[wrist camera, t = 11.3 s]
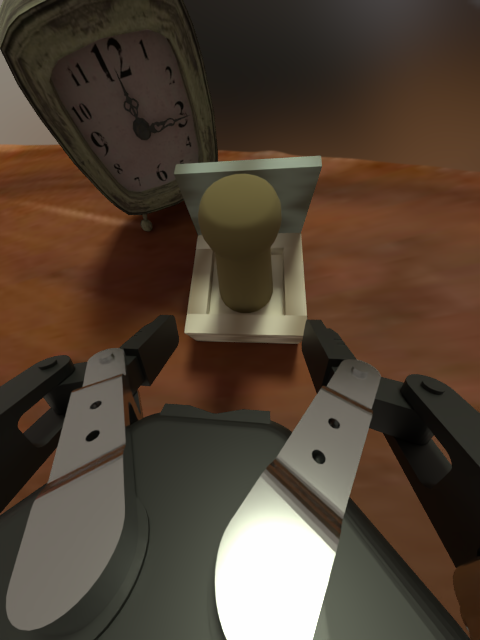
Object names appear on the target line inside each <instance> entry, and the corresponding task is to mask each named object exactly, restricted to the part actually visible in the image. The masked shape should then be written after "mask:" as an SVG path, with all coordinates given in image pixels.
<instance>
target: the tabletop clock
mask: <svg viewBox="0 0 480 640" xmlns="http://www.w3.org/2000/svg"><path fill="white" fill-rule="evenodd" d="M0 49H1V51H2V54H3V56H4V58H5V60H6V62H7V64H8V66H9V68H10V70H11V72H12V74H13V76H14V78H15V80H16V82H17V84H18V85H19V87H20V89H21V90H22V92H23V94H24V95H25V97H26V98H27V100H28V101H29V103H30V104H31V106H32V107H33V109H34V110H35V112H36V113H37V115H38V116H39V118H40V119H41V120H42V122H43V123H44V125H45V126H46V127H47V128H48V130H49V131H50V133H51V134H52V135H53V136H54V138H55V139H56V140H57V142H58V143H59V144H60V146H61V147H62V148H63V150H64V151H65V152H66V154H67V155H68V156H69V158H70V159H71V160H72V161H73V163H74V164H75V165H76V166H77V167H78V168H79V170H80V171H81V172H82V173H83V174H84V175H85V176H86V177H87V178H88V179H89V180H90V181H91V182H92V183H93V185H94V186H95V187H96V188H97V189H98V190H99V191H100V192H101V193H102V194H103V195H104V196H105V197H106V198H107V199H108V200H109V201H110V202H111V203H113V204H114V205H115V206H116V207H117V208H119V209H120V210H122V211H123V212H125V213H126V214H128V215H143V218H144V219H143V220H142V221H141V227H142V229H143V230H145V231H151V230H152V223H151V222H150V221H149V220H148V218H147V214H148V213H152V212H155V211H158V210H161V209H164V208H167V207H170V206H173V205H176V204H178V203H180V202H182V201H184V199H183V196H182V194H181V191H180V188H179V186H178V183H177V181H176V178H175V176H174V171H175V167H176V164H190V163H207V162H218V149H217V139H216V131H215V130H216V129H215V120H214V111H213V106H212V101H211V97H210V91H209V86H208V82H207V77H206V72H205V67H204V63H203V58H202V55H201V51H200V47H199V44H198V40H197V37H196V33H195V30H194V27H193V24H192V21H191V19H190V16H189V14H188V11H187V9H186V6H185V4H184V2H183V0H3V3H2V5H1V8H0Z"/></svg>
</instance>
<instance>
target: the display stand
mask: <svg viewBox="0 0 480 640" xmlns="http://www.w3.org/2000/svg"><path fill="white" fill-rule="evenodd" d="M321 168H322V163H321V156H309V157H292V158H275V159H258V160H241V161H224V162H207V163H190V164H176V167H175V171H174V176H175V178H176V181H177V183H178V186H179V188H180V191H181V194H182V196H183V199H184V201H185V204H186V206H187V209H188V211H189V214H190V216H191V219H192V221H193V224H194V226H195V229H196V231H197V234H198V239H197V246H196V253H195V260H194V267H193V275H192V282H191V289H190V296H189V303H188V310H187V318H186V325H185V332H184V333H186V334H187V335H189V336H190V337H192V338H193V339H195V340H196V341H217V342H252V343H288V344H298V343H300V342H301V341H302V339H303V334H304V328H305V323H306V320H307V311H306V297H305V283H304V270H303V256H302V242H301V231H302V227H303V224H304V221H305V218H306V215H307V212H308V209H309V205H310V202H311V199H312V196H313V193H314V190H315V187H316V183H317V180H318V177H319V174H320V171H321ZM233 174H250V175H255V176H258V177H260V178H262V179H264V180H266V181H267V182H268V183H269V184H270V185H271V186H273V188H274V190H275V192H276V194H277V196H278V198H279V200H280V203H281V216H282V221H281V226H280V229H279V232H278V235H277V238H276V239H275V241H274V243H273V244H272V246H271V262H272V278H273V293H272V296H271V299H270V301H269V302H268V303H267V304H266V306H264V307H263V308H261V309H260V310H258V311H255V312H252V313H239V312H236V311H233V310H232V309H230V308H229V307H227V306H226V305H225V303H224V302H223V300H222V299H221V295H220V291H219V283H218V274H217V266H216V257H215V253H214V252H213V250H212V249H211V248H210V247H209V245H208V244H207V243H206V241H205V240H204V238H203V236H202V233H201V230H200V226H199V222H198V212H199V205H200V202H201V198H202V196H203V195H204V193H205V191H206V189H207V188H209V187H210V186H211V185H212V184H213V183H214V182H216V181H217V180H219V179H221V178H223V177H226V176H230V175H233Z"/></svg>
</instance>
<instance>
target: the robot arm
mask: <svg viewBox="0 0 480 640" xmlns="http://www.w3.org/2000/svg"><path fill="white" fill-rule="evenodd" d="M178 343H179V336H178V331H177V326H176V321H175V317H174V316H173V315H160V316H158V317H157V318H156V319H155V320H154V321H153V322H152V323H150V324H148V325H146V326H144V327H143V328H141V329H140V330H139V331H138V332H137V333H136V334H135V335H134V336H132V337H131V338H130V339H129V340H128V341H126V342H125V343H124V344H123V345H122V346H121V347H120V348H111V349H107V350H103V351H101V352H99V353H97V354H95V355H93V356H92V357H91V358H90V359H89V360H88V362H84V363H77V364H73V363H72V361H71V359H70V357H69V356H66V355H60V356H54V357H51V358H47V359H45V360H42V361H40V362H38V363H36V364H35V365H33V366H31V367H30V368H28V369H27V370H25V371H24V372H22V373H21V374H19V375H18V376H16V377H15V378H13V379H11V380H10V381H8V382H7V383H5V384H4V385H2V386H1V387H0V513H1V512H2V511H3V509H4V508H5V507H6V506H7V505H8V504H9V502H10V501H11V500H12V499H13V498H14V497H15V495H16V494H17V493H18V492H19V491H20V490H21V488H22V487H23V486H24V485H25V484H26V483H27V481H28V480H29V479H30V478H31V477H32V476H33V474H34V473H35V472H36V471H37V470H38V469H39V467H40V466H41V465H42V464H43V463H44V462H45V461H46V459H47V458H48V457H49V456H50V455H51V454H52V452H53V451H54V450H55V449H56V448H57V451H56V454H55V458H54V462H53V466H52V470H51V474H50V478H49V481H48V483H46V484H45V485H43V486H42V487H40V488H39V489H38V490H36V491H35V492H33V493H32V494H30V495H29V496H28V497H26V498H25V499H23V500H22V501H20V502H19V503H17V504H16V505H15V506H13V507H12V508H10V509H9V510H7V511H6V512H5V513H3V514H2V515H0V640H470V639H471V640H480V413H479V412H477V411H476V410H475V409H474V408H473V407H472V406H471V405H470V404H468V403H467V402H466V401H465V400H464V399H463V398H462V397H461V396H460V395H458V394H457V393H456V392H455V391H454V390H453V389H451V388H450V387H449V386H447V385H446V384H444V383H442V382H440V381H438V380H436V379H433V378H431V377H428V376H424V375H418V374H412V375H409V376H407V378H406V380H405V382H404V383H403V382H399V381H395V380H391V379H387V378H383V377H381V376H380V373H379V372H378V371H377V370H376V369H375V368H374V367H373V366H371V365H369V364H368V363H365V362H363V361H360V360H357V359H356V358H355V356H354V355H353V354H352V352H351V351H350V350H349V348H348V347H347V346H346V345H345V343H344V342H343V340H342V339H341V338H340V336H339V335H338V334H337V333H336V332H334V331H333V330H331V329H327V328H326V327H325V325H324V324H323V322H322V321H321V320H306V323H305V328H304V334H303V339H302V352H303V355H304V358H305V361H306V364H307V367H308V370H309V373H310V375H311V378H312V381H313V384H314V387H315V390H316V393H317V395H316V397H315V398H314V400H313V401H312V403H311V405H310V406H309V408H308V409H307V411H306V412H305V414H304V415H303V417H302V418H301V420H300V422H299V423H298V425H297V426H296V428H295V429H294V431H293V432H291V431H290V430H288V429H287V428H285V427H284V426H282V425H280V424H278V423H276V422H273V421H271V420H270V411H258V410H244V409H242V410H236V411H230V412H224V413H218V414H213V413H210V412H207V411H204V410H202V409H199V408H196V407H193V406H190V405H177V404H165V405H164V407H163V409H162V411H161V413H157V414H153V415H150V416H147V417H145V418H143V412H142V406H141V400H140V393H139V390H138V388H139V387H140V385H141V386H151V384H152V383H153V381H154V380H155V378H156V377H157V376H158V374H159V373H160V371H161V370H162V368H163V367H164V365H165V364H166V362H167V361H168V359H169V358H170V356H171V355H172V353H173V352H174V351H175V349H176V348H177V346H178ZM42 398H44V399H45V400H46V402H47V403H48V404H49V406H50V407H51V408H50V409H49V410H48V411H47V412H46V413H45V414H44V415H43V416H41V417H40V418H39V419H38V420H37V421H36V422H35V423H34V424H33V425H32V426H31V427H30V428H29V429H27V430H26V431H25V432H24V433H22V432H21V431H20V430H19V429H18V421H19V419H20V417H21V416H22V415H23V414H24V413H25V412H26V411H27V410H29V409H30V408H31V407H32V406H33V405H34V404H36V403H37V402H38V401H39V400H40V399H42ZM369 428H371V429H374V430H376V431H379V432H382V433H383V434H384V436H385V438H386V440H387V441H388V443H389V445H390V447H391V449H392V451H393V452H394V454H395V456H396V458H397V460H398V462H399V464H400V465H401V467H402V469H403V471H404V473H405V475H406V476H407V478H408V480H409V482H410V484H411V486H412V487H413V489H414V491H415V493H416V495H417V497H418V499H419V500H420V502H421V504H422V506H423V508H424V510H425V511H426V513H427V515H428V517H429V519H430V521H431V523H432V524H433V526H434V528H435V530H436V532H437V534H438V535H439V537H440V539H441V541H442V543H443V545H444V547H445V548H446V550H447V552H448V554H449V556H450V558H451V559H452V561H453V563H454V565H455V567H456V569H455V571H454V574H453V585H454V591H455V594H456V597H457V600H458V602H459V605H460V614H461V617H462V620H463V622H464V624H465V626H466V628H467V630H468V631H469V634H470V638H469V637H468V636H467V634H466V633H465V632H464V631H463V629H462V628H461V627H460V626H459V624H458V623H457V622H456V621H455V619H454V618H453V617H452V616H451V615H450V614H449V612H448V611H447V610H446V609H445V608H444V607H443V605H442V604H441V603H440V602H439V601H438V600H437V598H436V597H435V596H434V595H433V594H432V593H431V591H430V590H429V589H428V588H427V587H426V586H425V584H424V583H423V582H422V581H421V580H420V579H419V577H418V576H417V575H416V574H415V573H414V572H413V570H412V569H411V568H410V567H409V566H408V565H407V563H406V562H405V561H404V560H403V559H402V558H401V556H400V555H399V554H398V553H397V552H396V551H395V549H394V548H393V547H392V546H391V545H390V544H389V542H388V541H387V540H386V539H385V538H384V537H383V535H382V534H381V533H380V532H379V531H378V530H377V528H376V527H375V526H374V525H373V524H372V523H371V521H370V520H369V519H368V518H367V517H366V516H365V514H364V513H363V512H362V511H361V510H360V509H359V507H358V506H357V505H356V504H355V503H354V502H353V500H352V499H351V498H350V497H349V496H350V492H351V488H352V485H353V481H354V478H355V474H356V471H357V467H358V464H359V460H360V457H361V453H362V450H363V446H364V443H365V439H366V436H367V432H368V429H369ZM434 435H435V437H436V438H437V439H438V441H439V442H440V443H441V444H442V446H443V447H444V448H445V449H446V451H447V452H448V454H449V456H450V459H451V462H452V465H451V464H450V463H449V461H448V460H447V459H446V457H445V456H444V455H443V453H442V452H441V451H440V450H439V448H438V447H437V446H436V444H435V443H434V442H433V440H432V439H431V438H432V437H433V436H434Z"/></svg>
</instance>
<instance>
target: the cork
mask: <svg viewBox="0 0 480 640" xmlns="http://www.w3.org/2000/svg"><path fill="white" fill-rule="evenodd" d="M281 221H282V216H281V203H280V200H279V198H278V196H277V194H276V192H275V190H274V188H273V186H271V185H270V184H269V183H268V182H267V181H266V180H264V179H262V178H260V177H258V176H255V175H250V174H233V175H230V176H226V177H223V178H221V179H219V180H217V181H216V182H214V183H213V184H212V185H211V186H210V187H209V188H207V189H206V191H205V193H204V195H203V196H202V198H201V202H200V205H199V212H198V222H199V226H200V230H201V233H202V236H203V238H204V240H205V241H206V243H207V244H208V245H209V247H210V248H211V249H212V250H213V252H214V253H215V257H216V266H217V274H218V283H219V291H220V295H221V299H222V300H223V302H224V303H225V305H226V306H227V307H229V308H230V309H232V310H233V311H236V312H239V313H252V312H255V311H258V310H260V309H261V308H263V307H264V306H266V304H267V303H268V302H269V301H270V299H271V296H272V293H273V278H272V262H271V246H272V244H273V243H274V241H275V239H276V238H277V235H278V232H279V229H280V226H281Z"/></svg>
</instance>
